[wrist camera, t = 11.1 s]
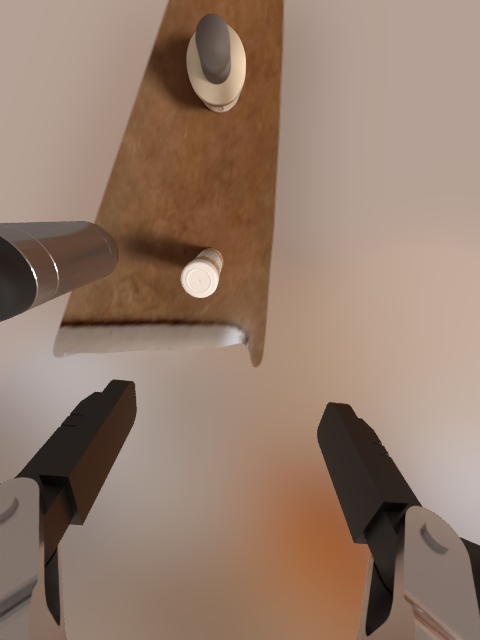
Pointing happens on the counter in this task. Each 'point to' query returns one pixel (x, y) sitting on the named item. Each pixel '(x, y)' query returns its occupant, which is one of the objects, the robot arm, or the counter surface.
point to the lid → (216, 62)
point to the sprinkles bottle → (202, 273)
